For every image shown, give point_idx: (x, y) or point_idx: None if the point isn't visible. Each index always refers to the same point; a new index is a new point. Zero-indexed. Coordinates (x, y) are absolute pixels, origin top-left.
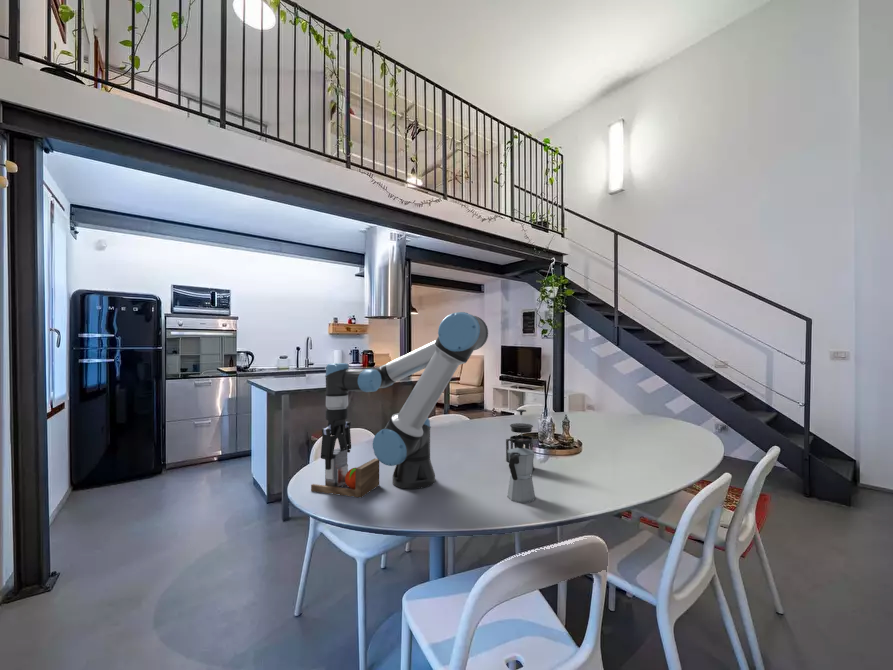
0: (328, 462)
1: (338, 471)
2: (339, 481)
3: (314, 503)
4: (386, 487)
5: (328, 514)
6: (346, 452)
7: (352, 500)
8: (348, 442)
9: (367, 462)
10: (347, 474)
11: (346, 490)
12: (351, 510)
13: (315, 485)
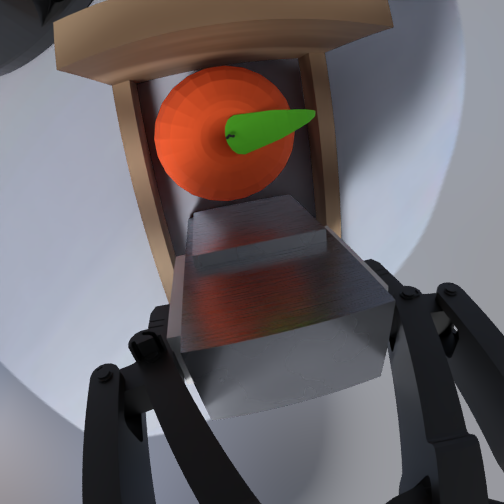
0: (400, 285)
1: (313, 224)
2: (282, 204)
3: (418, 178)
4: None
5: (457, 75)
6: (197, 329)
7: (346, 50)
8: (121, 425)
9: (202, 19)
10: (283, 161)
11: (330, 105)
12: (411, 14)
13: None
